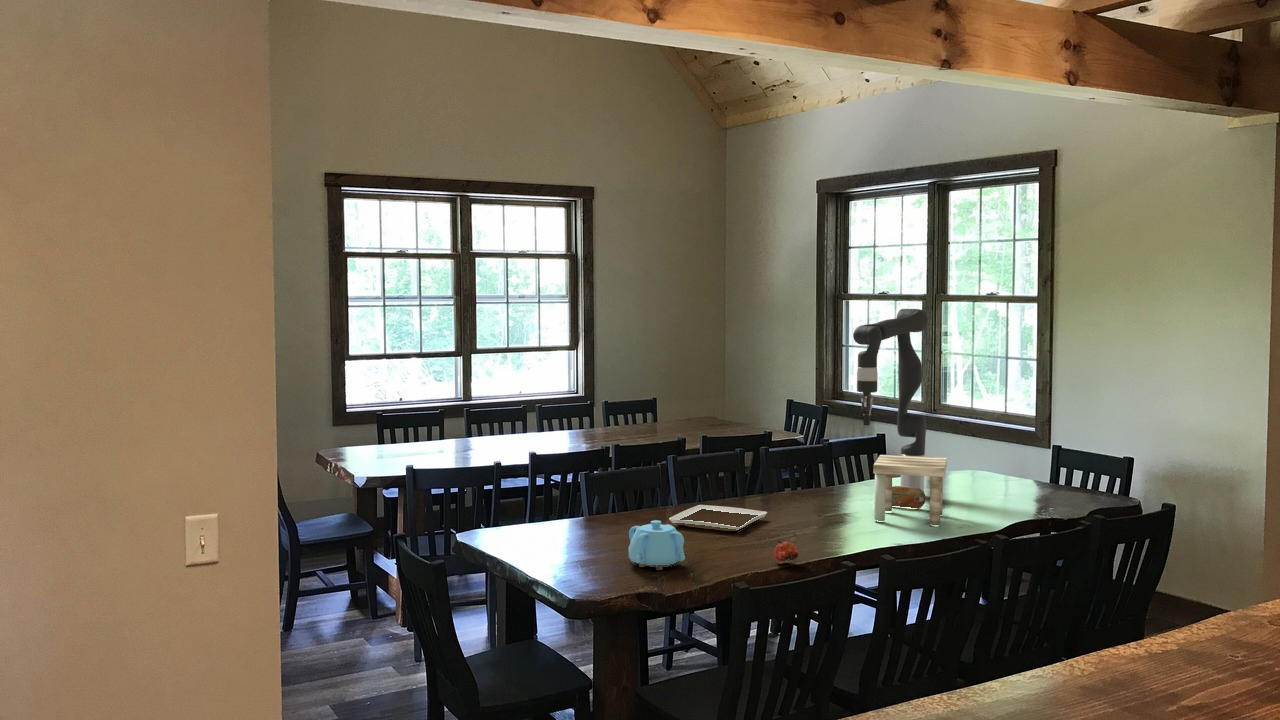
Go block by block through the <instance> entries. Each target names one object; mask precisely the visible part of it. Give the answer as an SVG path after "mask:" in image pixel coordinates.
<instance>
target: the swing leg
mask: <svg viewBox="0 0 1280 720" xmlns="http://www.w3.org/2000/svg"><path fill="white" fill-rule="evenodd" d="M885 475H886V474H876V473H874V519H875V520H878V521H884V520H885V521H886V513H885Z"/></svg>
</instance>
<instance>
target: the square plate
mask: <svg viewBox="0 0 1280 720" xmlns="http://www.w3.org/2000/svg"><path fill="white" fill-rule="evenodd" d="M701 509H706V510H713V511H721V512H729V513H739V514H740V513H741V514H750V515H758V516H756V517H754V518H752V519H751V520H749V521H748V522H746V523H745V524H744V525H742V526H740V527H736V526H730V525H724V524H718V523H711V522H704V521H693V520H680V519H682V518H684V517H687V516H689V515H691V514H693V513H695V512H697V511H699V510H701ZM767 514H768V512H767V511H764V510H757V509H756V510H755V509H749V508H742V507H733V506H732V507H731V506H722V505H721V506H720V505H707V504H698V505H696V506H693V507H690V508H688V509H686V510H683V511H681V512H679V513H677V514H675V515H673V516H671V517H669V518H668V520H669V521H670V522H671V523H672V524H674V523H685V524H695V525H705V526H712V527H720V528H728V529H736V530H739V529H741V528H743V527H745V526H746V525H748V524H750V523H752V522H754V521H756V520H758V519H760V518H762V517H763V518H765V516H766V515H767ZM763 518H762V519H763ZM760 520H761V519H760Z"/></svg>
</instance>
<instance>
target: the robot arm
mask: <svg viewBox="0 0 1280 720" xmlns="http://www.w3.org/2000/svg"><path fill="white" fill-rule="evenodd" d="M928 321H929V317H928V314H927V312H926V311H925V310H923V309H919V308H902V309H899V311H898V312H897V314H896V318H890V319H884V320H881V321H877V322H875V323H869V324H861V325H858V326H857V327H856V328H855V330H854V331H853V334H852V337H853V340H854V342H855V343H856V344H859V345H862V346H867V348H866V350H863V351H859V353H858V354H857V370H856V371H857V373H856V392H859V393H862V396H861V397H860V402H861V410H862V416H863V426H865V427H866V426H867V427H868V426H870V425H871V415H872V414H871V413H872V409H873V401H874V396H872V393H877V392H878V378H879V377H878V375H879V374H878V355H879V351H880V347H881V344H882V341H884V340H888V339H890V338H893V337H897V338H896V339H897V347H898V349H897V350H898V352H897V353H898V362H897V363H898V364H897V365H898V366H897V367H898V368H897V369H898V370H897V375H898V376H897V377H898V380H897V382H898V404H897V405H898V407H897V423H896V427H897V434H898V436H900V437H903V438H915V441H913V442H911V443H909V444H906V445H905V444H904V445H902V446H901V448H900V456H917V457H926V452H925V451H926V435H927V420H926V419H927V418H926V416H924V414H915V413H908V412H909V411H908V409H909V405H910V402H911V400H912V399H913V398H914V396H915V394H916V393H917V392H918V390H919V389H920V387H921V385H922V381H923V364H922V362H921V360H920V357H919V356H918V354H917V352H916V351H915V349H914V347H913V344H912V341H911V333H921V332H923V331H924V330H926V328H927V327H928V325H929V324H928V323H929V322H928ZM900 486H902V487H916V488H919V489H921V490H922V491H923V492H924V493H925V476H915V475H900Z"/></svg>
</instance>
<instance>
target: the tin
mask: <svg viewBox="0 0 1280 720" xmlns="http://www.w3.org/2000/svg"><path fill="white" fill-rule="evenodd" d="M926 501H927V497H926V493H925V491H924V492H923V491H922V490H921V489H919V488H916V487H902V486H901V485H895V486H893V485H892V506H900V507H911V508H918V509H917V510H920V509H921V508H922V507H923V506H924V505H925V503H926Z"/></svg>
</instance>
